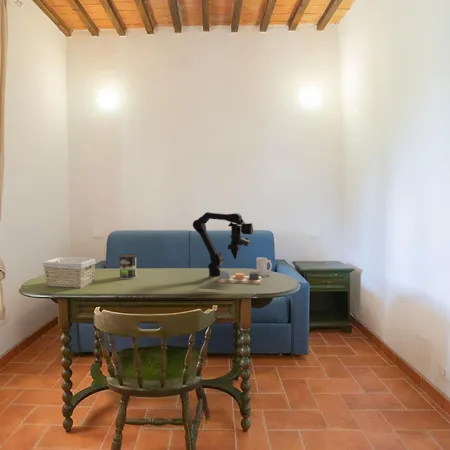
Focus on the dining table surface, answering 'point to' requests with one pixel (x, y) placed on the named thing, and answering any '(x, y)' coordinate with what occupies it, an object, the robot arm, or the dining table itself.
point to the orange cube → (239, 276)
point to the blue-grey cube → (225, 274)
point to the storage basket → (69, 272)
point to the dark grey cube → (254, 276)
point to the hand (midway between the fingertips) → (235, 258)
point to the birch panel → (239, 280)
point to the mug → (263, 266)
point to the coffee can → (127, 266)
